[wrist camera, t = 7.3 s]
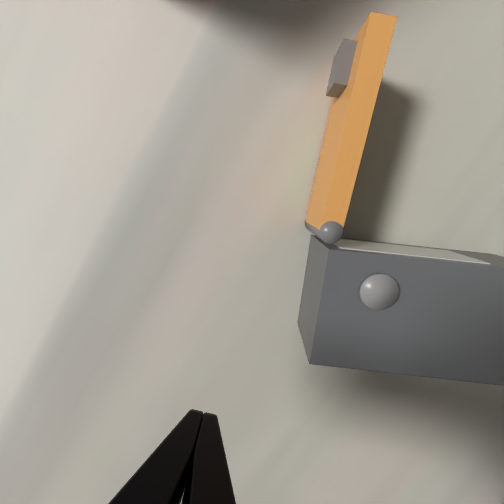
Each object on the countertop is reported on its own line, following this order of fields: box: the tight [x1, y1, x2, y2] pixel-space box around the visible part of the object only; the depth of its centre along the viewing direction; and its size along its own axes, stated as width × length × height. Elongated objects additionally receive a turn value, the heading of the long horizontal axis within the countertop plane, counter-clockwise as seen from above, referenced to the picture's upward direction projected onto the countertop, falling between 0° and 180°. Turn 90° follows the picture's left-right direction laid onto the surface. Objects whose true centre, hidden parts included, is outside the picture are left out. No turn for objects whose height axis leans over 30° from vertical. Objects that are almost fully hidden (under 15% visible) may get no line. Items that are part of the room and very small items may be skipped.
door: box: [305, 12, 397, 244], centre depth 15 cm, size 2×11×5 cm, turn 170°
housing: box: [298, 235, 504, 385], centre depth 17 cm, size 7×14×5 cm, turn 84°
